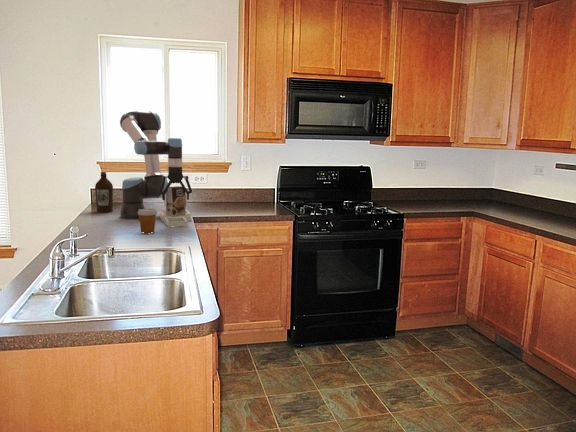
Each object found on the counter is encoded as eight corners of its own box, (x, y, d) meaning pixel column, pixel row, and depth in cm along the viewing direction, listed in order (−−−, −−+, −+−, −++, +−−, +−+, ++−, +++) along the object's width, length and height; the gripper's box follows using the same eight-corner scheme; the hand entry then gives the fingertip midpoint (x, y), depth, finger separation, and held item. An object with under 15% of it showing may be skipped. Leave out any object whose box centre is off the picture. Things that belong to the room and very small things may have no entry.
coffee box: (173, 217, 272) (172, 187, 269) (165, 215, 275) (165, 186, 273) (186, 215, 279) (185, 186, 276) (178, 213, 283) (178, 185, 280)
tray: (167, 227, 270) (167, 222, 269) (164, 222, 283) (164, 217, 282) (188, 226, 274) (187, 221, 273) (184, 222, 286) (183, 216, 286)
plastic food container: (162, 221, 286) (162, 214, 285) (159, 216, 302) (159, 210, 301) (190, 220, 292) (190, 213, 291) (185, 215, 307) (185, 209, 307)
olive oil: (98, 210, 319) (96, 171, 315) (115, 210, 320) (114, 171, 316) (94, 212, 309) (92, 172, 304) (111, 212, 310) (110, 172, 306)
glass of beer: (150, 230, 262) (149, 207, 260) (161, 233, 256) (160, 210, 254) (134, 232, 254) (133, 209, 252) (145, 235, 249) (144, 212, 246)
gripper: (154, 166, 265) (155, 207, 269) (197, 166, 273) (197, 206, 277) (152, 165, 272) (153, 205, 276) (195, 165, 280) (195, 204, 284)
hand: (175, 205), depth 276 cm, fingers closed on coffee box, 11 cm apart
